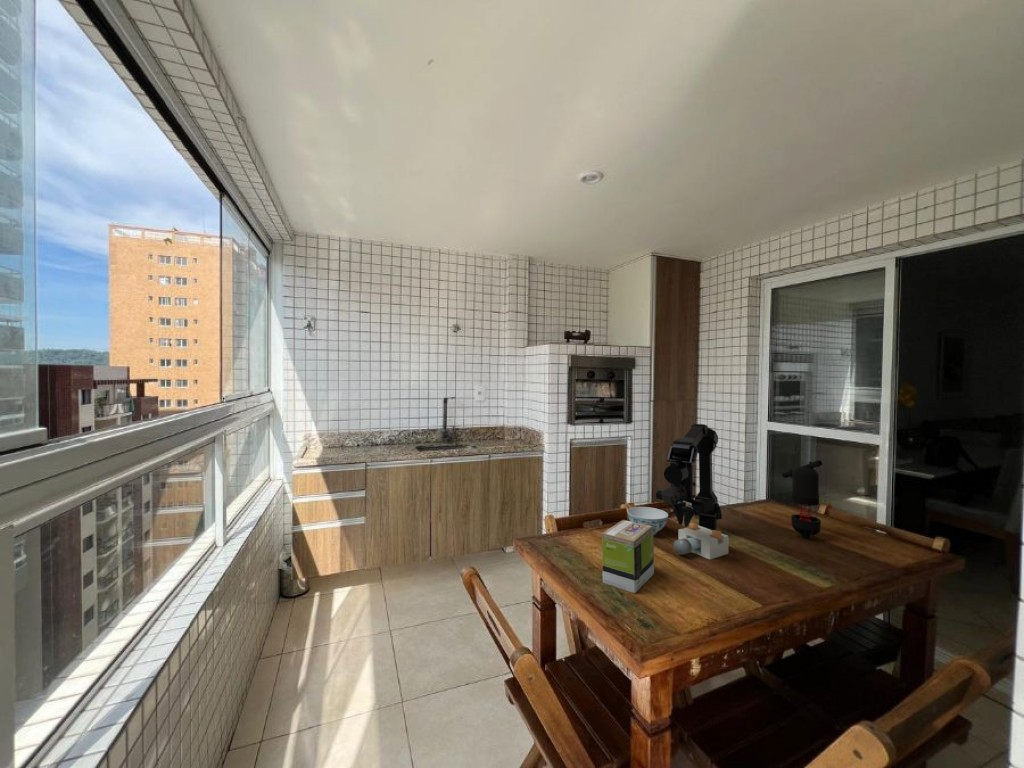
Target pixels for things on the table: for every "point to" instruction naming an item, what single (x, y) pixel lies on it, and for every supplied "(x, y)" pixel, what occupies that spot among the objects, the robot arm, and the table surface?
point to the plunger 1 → (693, 526)
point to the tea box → (627, 555)
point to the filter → (805, 497)
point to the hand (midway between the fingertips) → (683, 525)
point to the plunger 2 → (716, 534)
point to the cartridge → (686, 545)
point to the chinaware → (648, 517)
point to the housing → (706, 542)
